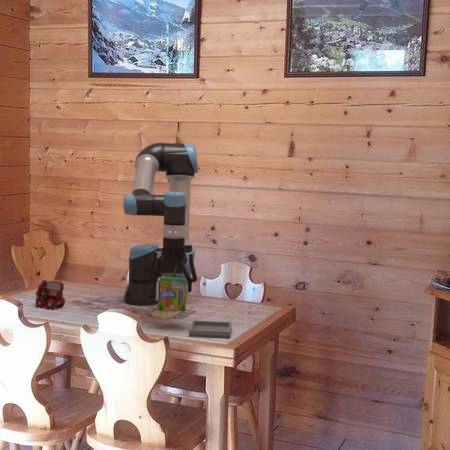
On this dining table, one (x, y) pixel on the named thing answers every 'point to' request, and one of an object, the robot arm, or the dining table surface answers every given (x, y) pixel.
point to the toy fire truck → (50, 294)
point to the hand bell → (163, 314)
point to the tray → (210, 329)
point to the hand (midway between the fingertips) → (172, 300)
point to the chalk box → (172, 291)
